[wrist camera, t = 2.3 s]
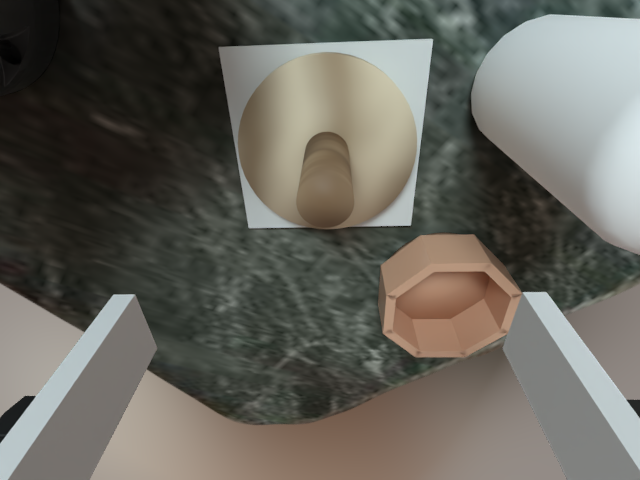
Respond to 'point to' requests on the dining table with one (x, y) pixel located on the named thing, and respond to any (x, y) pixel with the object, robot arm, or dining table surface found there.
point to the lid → (327, 140)
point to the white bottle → (570, 115)
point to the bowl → (445, 296)
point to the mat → (389, 56)
